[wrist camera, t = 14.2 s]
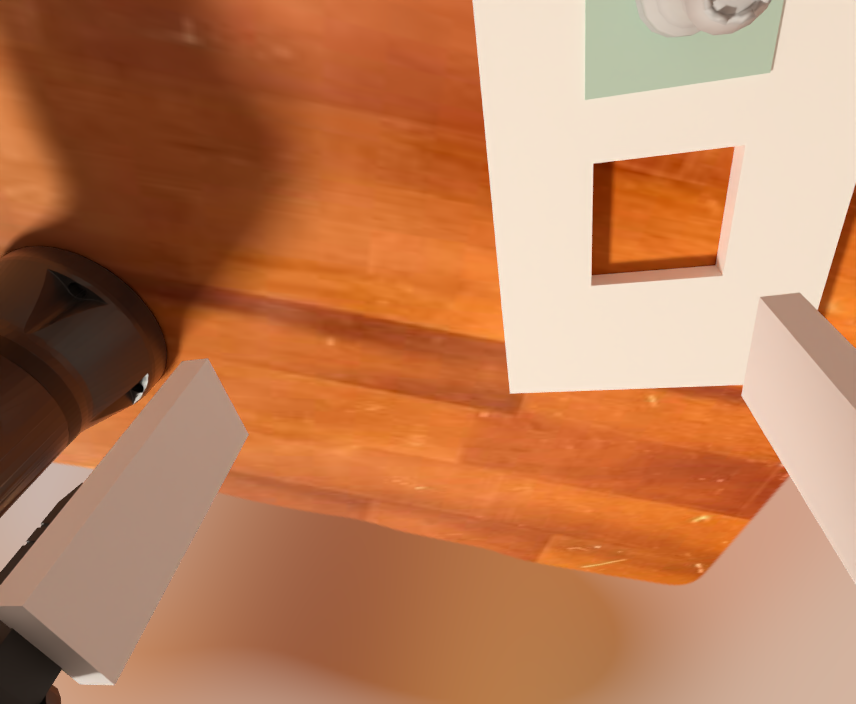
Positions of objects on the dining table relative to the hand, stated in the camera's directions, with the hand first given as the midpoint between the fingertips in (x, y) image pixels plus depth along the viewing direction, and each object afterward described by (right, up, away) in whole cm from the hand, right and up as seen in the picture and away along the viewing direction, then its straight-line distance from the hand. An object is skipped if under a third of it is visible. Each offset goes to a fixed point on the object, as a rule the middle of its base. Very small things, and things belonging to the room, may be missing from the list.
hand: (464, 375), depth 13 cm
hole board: (+13, +12, +18) cm, 25 cm away
